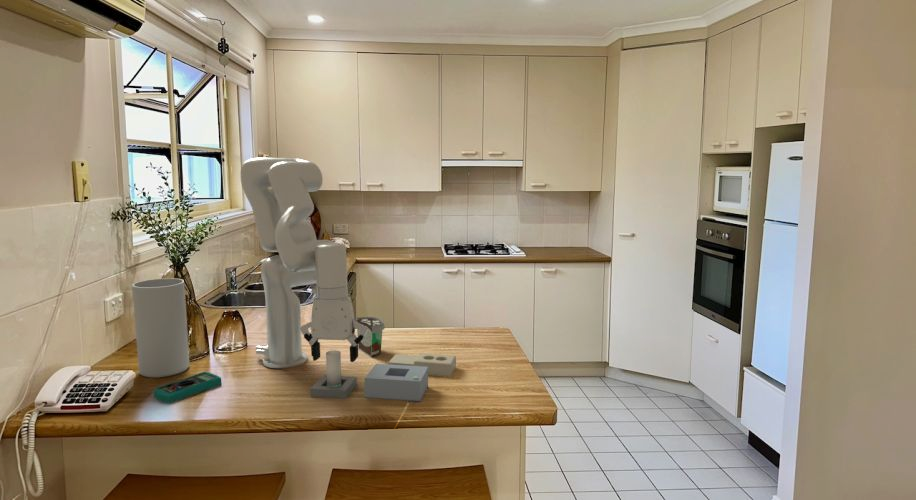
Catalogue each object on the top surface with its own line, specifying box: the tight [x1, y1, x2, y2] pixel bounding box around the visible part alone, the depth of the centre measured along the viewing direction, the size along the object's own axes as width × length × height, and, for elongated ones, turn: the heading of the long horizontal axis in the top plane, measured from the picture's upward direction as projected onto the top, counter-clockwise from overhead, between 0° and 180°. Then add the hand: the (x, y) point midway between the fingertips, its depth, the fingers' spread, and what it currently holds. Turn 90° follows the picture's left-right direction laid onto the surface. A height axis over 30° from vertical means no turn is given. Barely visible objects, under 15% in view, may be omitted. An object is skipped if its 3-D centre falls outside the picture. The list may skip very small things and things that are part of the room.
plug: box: [325, 349, 342, 387], centre depth 140 cm, size 4×4×10 cm
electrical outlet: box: [388, 352, 457, 378], centre depth 157 cm, size 7×4×18 cm
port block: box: [364, 363, 429, 404], centre depth 140 cm, size 14×10×6 cm
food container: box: [355, 316, 385, 358], centre depth 171 cm, size 12×6×10 cm, turn 34°
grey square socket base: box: [309, 374, 358, 400], centre depth 141 cm, size 9×9×2 cm
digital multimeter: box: [153, 371, 222, 404], centre depth 141 cm, size 7×15×3 cm, turn 147°
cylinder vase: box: [131, 277, 190, 379], centre depth 153 cm, size 12×12×25 cm
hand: (335, 359), depth 139 cm, fingers open, 9 cm apart
